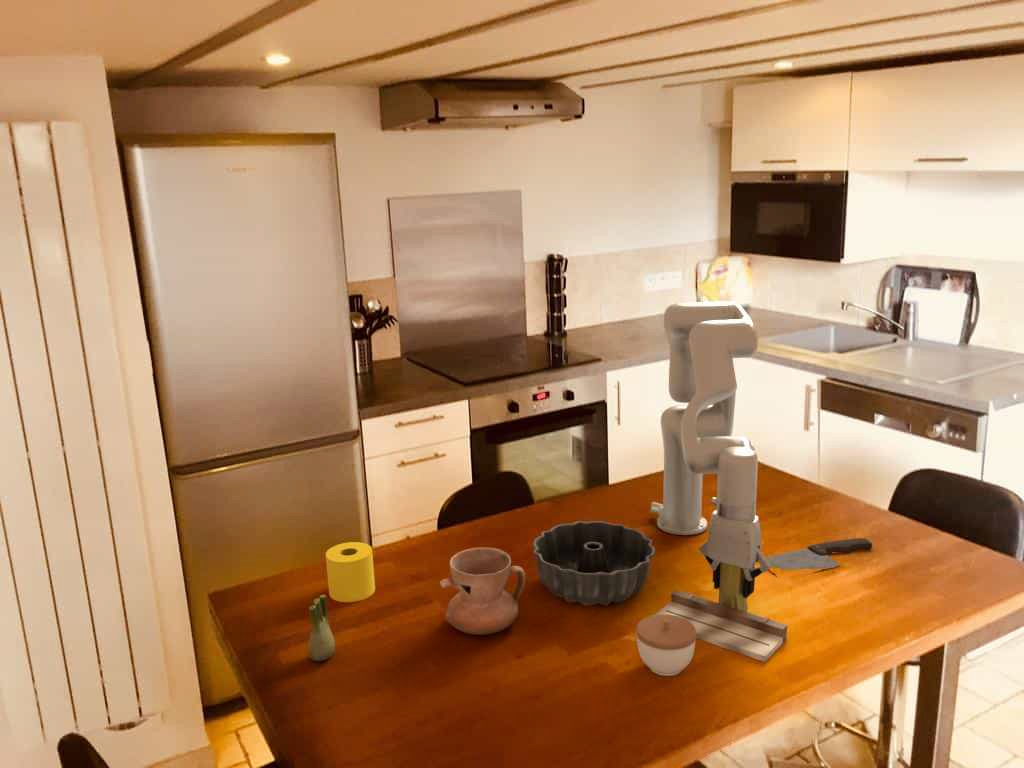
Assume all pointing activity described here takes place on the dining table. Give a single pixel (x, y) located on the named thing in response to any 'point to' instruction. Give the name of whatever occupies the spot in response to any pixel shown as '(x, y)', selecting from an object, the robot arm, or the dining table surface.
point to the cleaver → (817, 555)
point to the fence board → (728, 626)
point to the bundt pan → (593, 561)
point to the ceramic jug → (482, 591)
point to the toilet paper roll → (350, 572)
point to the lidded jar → (666, 643)
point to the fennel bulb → (320, 632)
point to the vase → (732, 587)
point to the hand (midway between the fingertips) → (733, 590)
